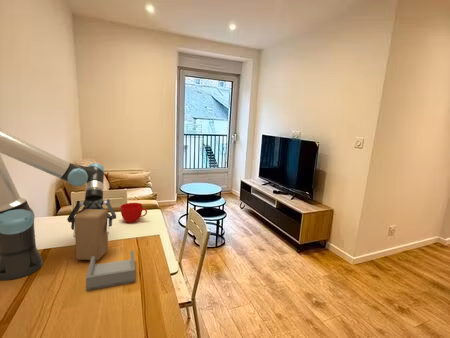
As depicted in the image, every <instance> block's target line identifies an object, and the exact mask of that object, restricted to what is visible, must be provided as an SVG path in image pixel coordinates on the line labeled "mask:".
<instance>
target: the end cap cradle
mask: <svg viewBox="0 0 450 338" xmlns="http://www.w3.org/2000/svg"><path fill="white" fill-rule="evenodd" d="M85 276H86V277H85V282H86V283H85V284H86V287H85V288H86V291H87V292H89V291H94V290H98V288H100V289H105V287H106V288H111V287H115V286H116V287H117V286H122V285H126V284H133V283H136V263H135V251H134V250H130V259H124V260H118V261H110V262H103V263H98V264H96V260H95V256H92V257H91V260H90V261H89V265H88V269H87V274H86V275H85ZM121 284H122V285H121ZM93 289H94V290H93ZM88 290H89V291H88Z"/></svg>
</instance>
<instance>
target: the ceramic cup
mask: <svg viewBox="0 0 450 338" xmlns="http://www.w3.org/2000/svg"><path fill="white" fill-rule="evenodd" d="M119 207H120V209H119V210H120V214H121V216H122V218H123V220H124V221H125V222H126V223H128V224H131V223H132V224H133V223H136V222H138V221H139V219H141V218H143V217H145V216H146V215H147V213H148V210H147V208H143V204H142V203H140V202H139V203H138V202H128V203H127V202H126V203H123V204H121V205H120V206H119ZM143 211H145V213H144V214H142V213H143Z"/></svg>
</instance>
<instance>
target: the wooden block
mask: <svg viewBox="0 0 450 338" xmlns="http://www.w3.org/2000/svg"><path fill="white" fill-rule="evenodd" d="M79 212H80V211H79ZM79 212H78V213H79ZM107 212H108V210H107V209H105V210H101V209H85V210H84V211H82V212H80V213H79V214H78V213H76V215H75V216H74V217H75V238H74V240H75V242H74V243H75V258H76V260H88V261H89V260H90V261H91V257H92V256H95V261H98V260H100V259H102V257H103V256H104V255H105V254H106V253H107V252H108V250H109V249H108V248H109V236H108V235H109V234H107Z"/></svg>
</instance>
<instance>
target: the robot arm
mask: <svg viewBox="0 0 450 338" xmlns="http://www.w3.org/2000/svg"><path fill="white" fill-rule="evenodd" d="M1 154H2V155H4V156H7V157H9V158H12V159H14V160H17V161H19V162H21V163H24V164H26V165H28V166H30V167H33V168H35V169H38V170H40V171H42V172H44V173H46V174H49V175H51V176H53V177H56V178H59V179H60V180H62V181H65V182H67V183H69V185H72V186H74V187H81V186H84V185H85V195H84V201H80V200H77V201H76V204H75V207H74V208H73V210H72V211H71V213H70V214H69V215H68V217H67V219H66V220H67V222H68V223H71V224H70V225H71V226H70V227H71V228H70V229H71V231H72V237H73V238H74V239H75V215H77V214H79V213H80V212H82V211H84V210H85V209H101V210H106V209H105V208H104V207H103V205H105V206H106V207H107V209H108V210H109V212H110V213H109V212H108V211H107V234H108V235H110V227H112V226H113V220H115V219H117V214H116V212H115V210H114V208H113V207H112V205H111V202H110V201H111V200H110V198H109V199H106V200H104V178H105V168H104V166H103V165H102V164H101V163H89V165H87V166H86V165H81V164H75V163H71V162H69V161H66V160H64V159H63V158H60V157H58V156H56V155H55V154H51V153H50V152H48V151H45V150H44V149H41V147H40V148H39V147H37V146H36V145H33V144H31V143H29V142H27V141H25V140H22V139H20V138H18V137H16V136H15V135H12V134H11V133H9V132H6V131H5V130H2V129H1V128H0V280H1V281H9V280H16V279H19V278H23V277H26V276H29V275H31V274H33V273H35V272H37V271H38V270H40V269H41V268H40V267H42V266H43V263H44V262H43V258H42V255H41V254H40V252H39V250H38V249H37V245H36V243H37V242H36V234H35V233H36V232H35V213H34V210H33V209H32V207H30V205H29V202H28V201H27V199H26V198H23V197H21V196H20V194H19V192H18V189H17V187H16V186H15V185H16V184H14V181H13V179H12V176H11V174H10V172H9V171H8V167H7V166H6V164H5V162H4V160H3V158H2V155H1ZM81 207H83V208H82V209H81V210H80V208H81Z"/></svg>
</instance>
